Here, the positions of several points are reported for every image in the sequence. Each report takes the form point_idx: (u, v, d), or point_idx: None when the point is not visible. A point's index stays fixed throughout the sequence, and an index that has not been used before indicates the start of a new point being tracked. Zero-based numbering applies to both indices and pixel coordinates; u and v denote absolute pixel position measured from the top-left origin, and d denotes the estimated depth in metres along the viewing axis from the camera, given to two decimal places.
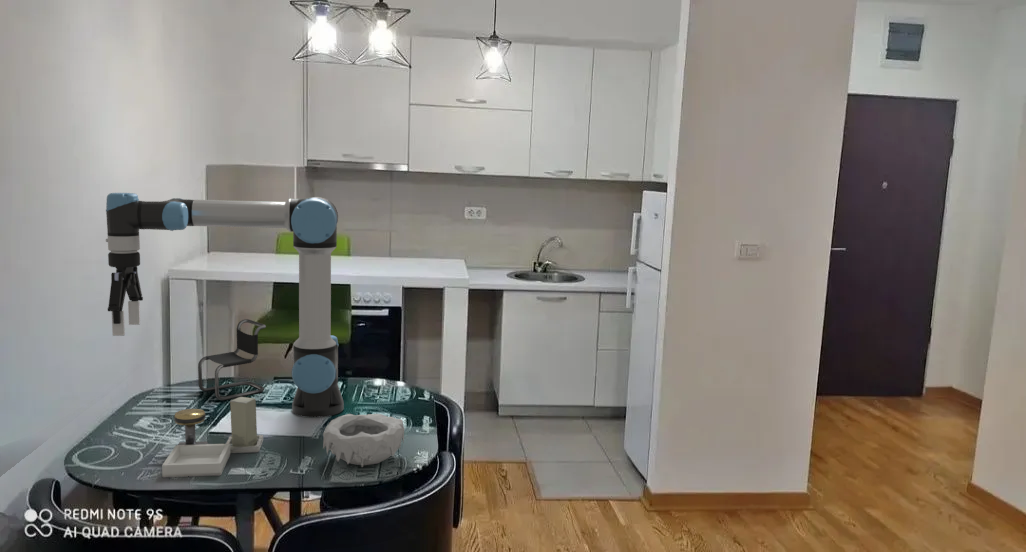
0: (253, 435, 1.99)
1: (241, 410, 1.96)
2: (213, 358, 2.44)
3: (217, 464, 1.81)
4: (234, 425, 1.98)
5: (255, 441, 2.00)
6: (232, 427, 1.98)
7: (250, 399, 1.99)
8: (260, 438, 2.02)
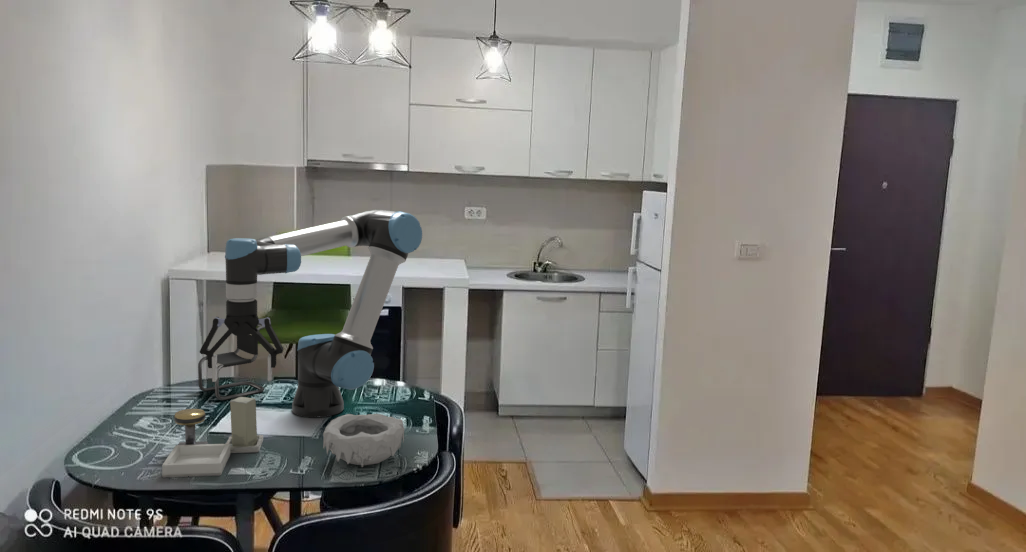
0: (253, 435, 1.99)
1: (241, 410, 1.96)
2: None
3: (217, 464, 1.81)
4: (234, 425, 1.98)
5: (255, 441, 2.00)
6: (231, 427, 1.98)
7: (250, 399, 1.99)
8: (260, 438, 2.02)
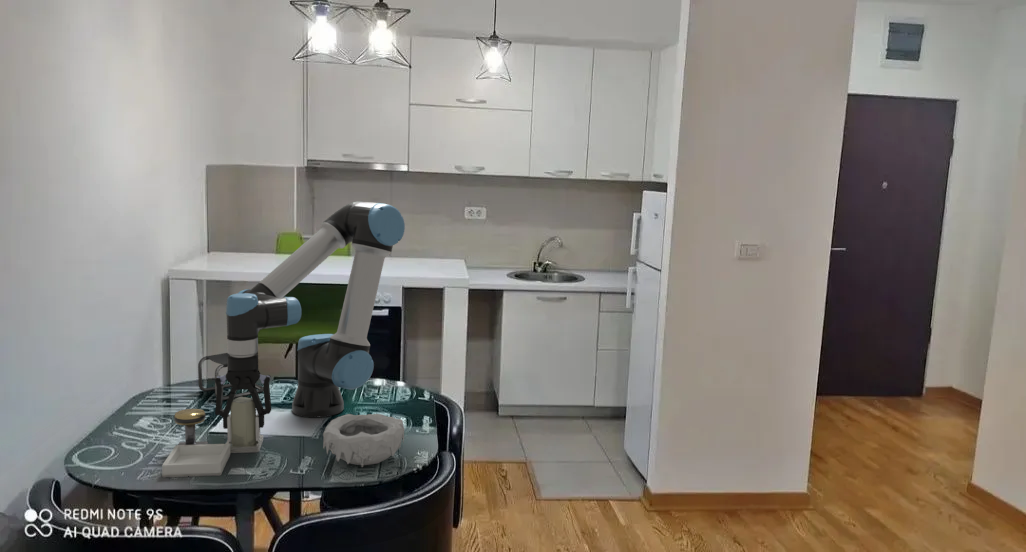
0: (253, 435, 1.99)
1: (241, 410, 1.96)
2: (213, 358, 2.44)
3: (217, 464, 1.81)
4: (234, 425, 1.98)
5: (255, 441, 2.00)
6: (231, 427, 1.98)
7: (250, 399, 1.99)
8: (260, 438, 2.02)
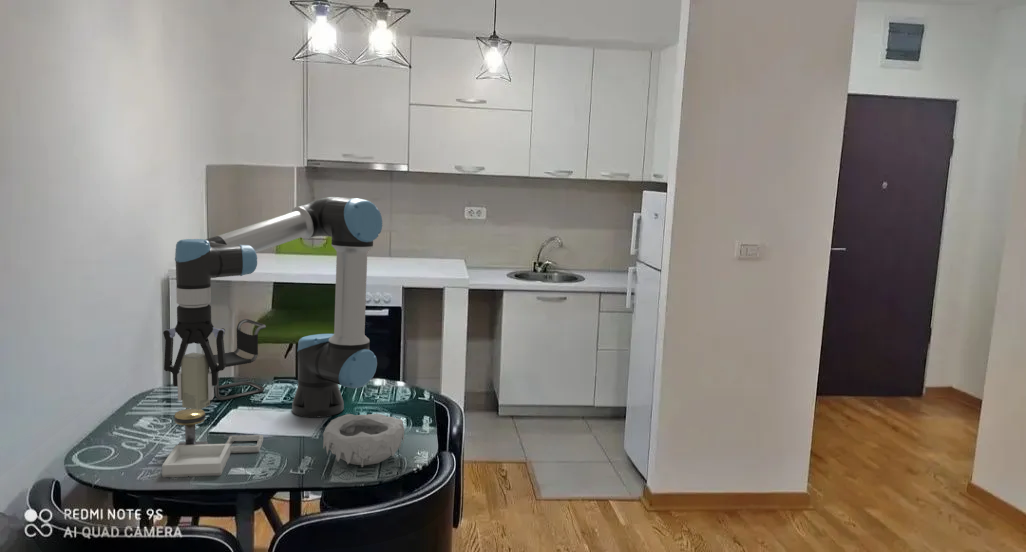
0: (205, 394, 1.84)
1: (192, 366, 1.81)
2: None
3: (217, 464, 1.81)
4: (184, 382, 1.82)
5: (208, 401, 1.85)
6: (182, 385, 1.83)
7: (203, 355, 1.83)
8: (260, 438, 2.02)
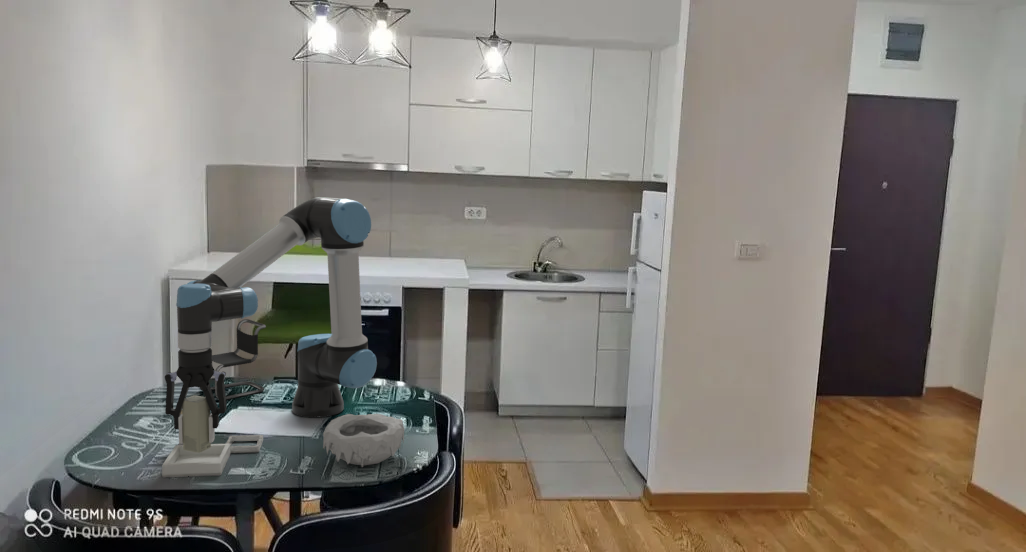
0: (206, 437, 1.85)
1: (193, 410, 1.82)
2: (213, 358, 2.44)
3: (217, 464, 1.81)
4: (185, 425, 1.84)
5: (208, 443, 1.86)
6: (183, 428, 1.84)
7: (204, 398, 1.85)
8: (260, 438, 2.02)
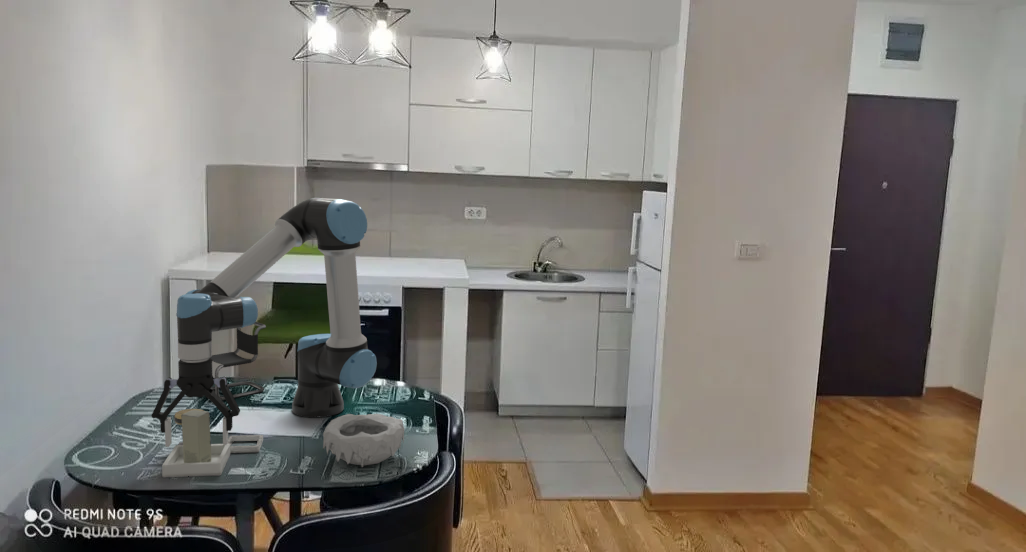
0: (207, 451, 1.86)
1: (193, 425, 1.83)
2: (213, 358, 2.44)
3: (217, 464, 1.81)
4: (185, 440, 1.84)
5: (209, 457, 1.87)
6: (183, 442, 1.85)
7: (203, 412, 1.85)
8: (260, 438, 2.02)
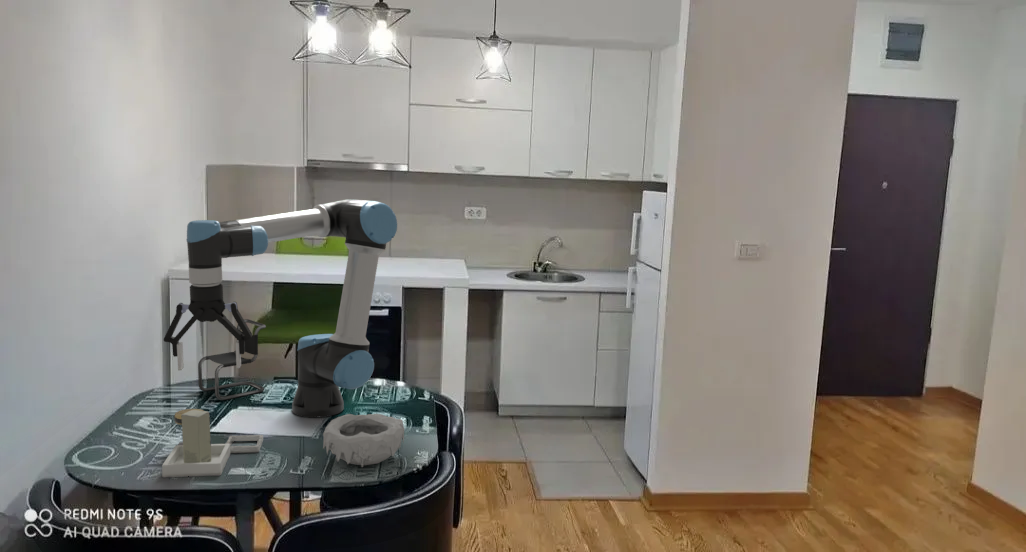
0: (207, 451, 1.86)
1: (193, 425, 1.83)
2: (213, 358, 2.44)
3: (217, 464, 1.81)
4: (185, 440, 1.84)
5: (209, 457, 1.87)
6: (183, 442, 1.85)
7: (203, 412, 1.85)
8: (260, 438, 2.02)
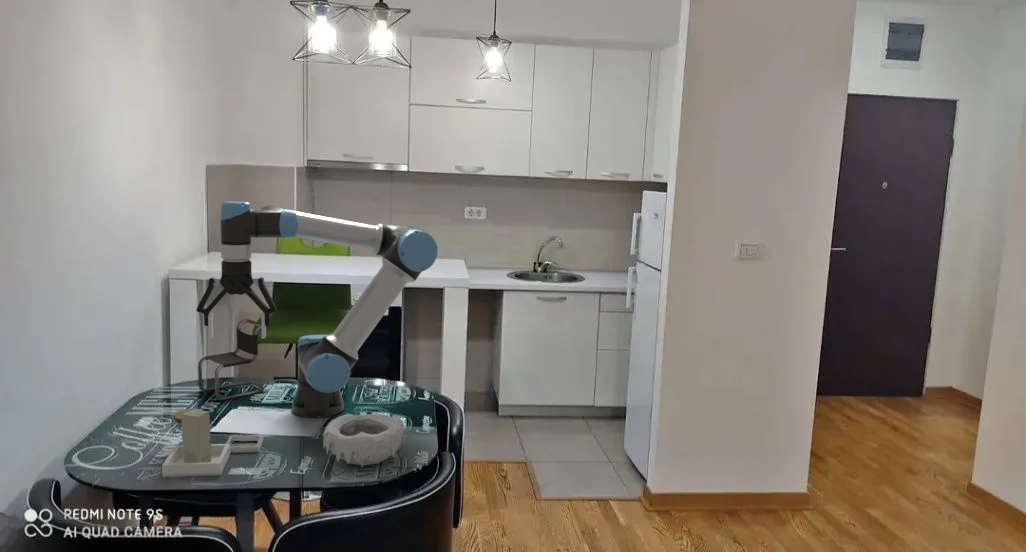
0: (207, 451, 1.86)
1: (193, 425, 1.83)
2: (213, 358, 2.44)
3: (217, 464, 1.81)
4: (185, 440, 1.84)
5: (209, 457, 1.87)
6: (183, 442, 1.85)
7: (203, 412, 1.85)
8: (260, 438, 2.02)
